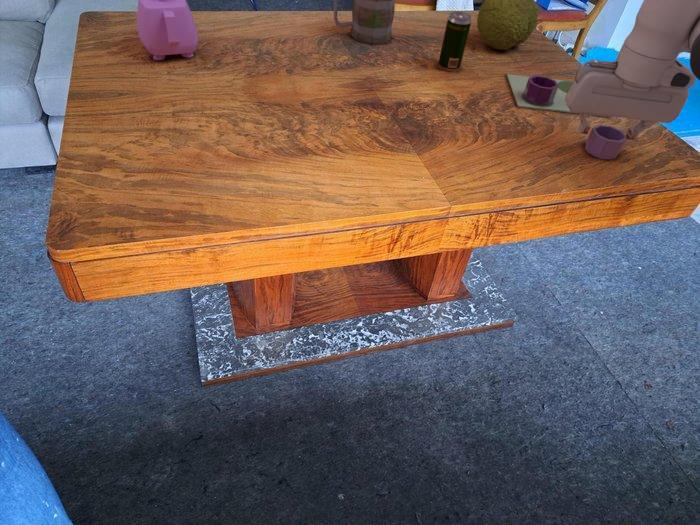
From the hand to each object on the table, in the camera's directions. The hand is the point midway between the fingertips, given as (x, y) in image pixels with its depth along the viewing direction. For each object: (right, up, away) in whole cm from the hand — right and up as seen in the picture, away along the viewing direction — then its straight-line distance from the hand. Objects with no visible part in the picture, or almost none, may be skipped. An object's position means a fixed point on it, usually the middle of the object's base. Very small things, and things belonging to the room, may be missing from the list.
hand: (606, 135), depth 99 cm
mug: (-47, +35, +34) cm, 68 cm away
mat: (-3, +14, +18) cm, 23 cm away
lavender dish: (0, -3, +2) cm, 3 cm away
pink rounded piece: (-91, +24, +18) cm, 96 cm away
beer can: (-26, +23, +25) cm, 42 cm away
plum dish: (-8, +12, +15) cm, 21 cm away
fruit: (-10, +33, +38) cm, 51 cm away
